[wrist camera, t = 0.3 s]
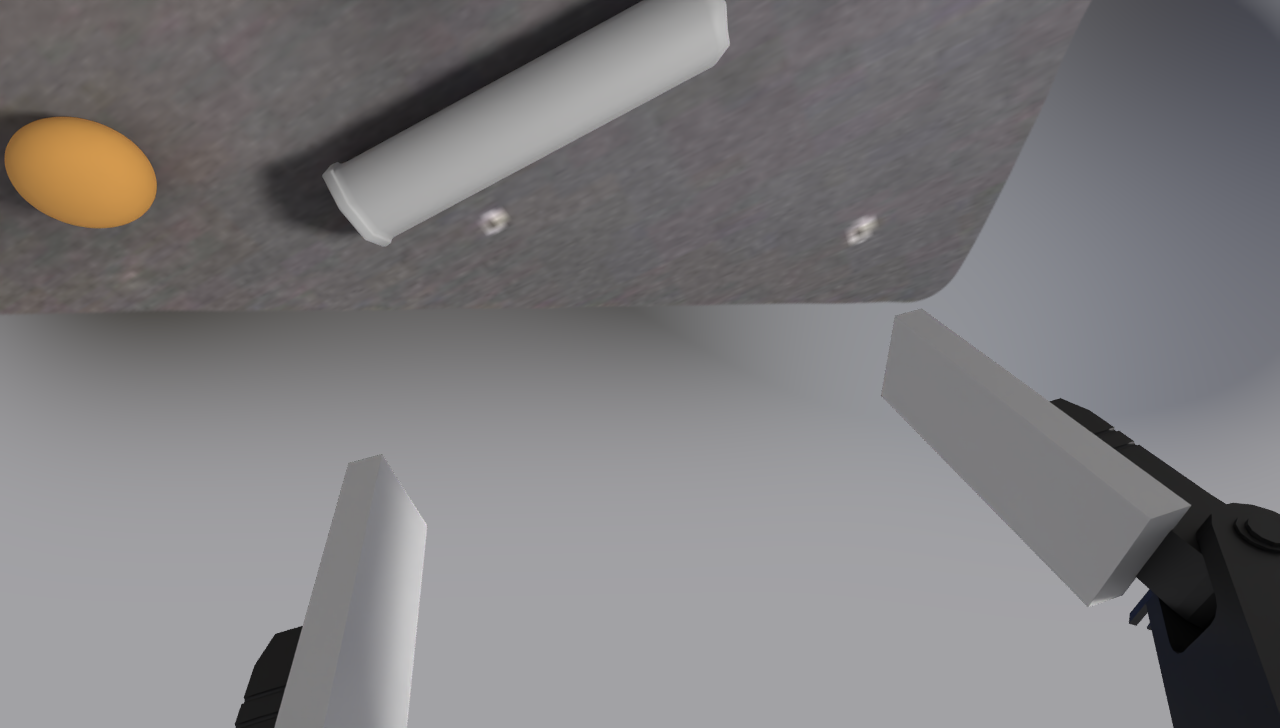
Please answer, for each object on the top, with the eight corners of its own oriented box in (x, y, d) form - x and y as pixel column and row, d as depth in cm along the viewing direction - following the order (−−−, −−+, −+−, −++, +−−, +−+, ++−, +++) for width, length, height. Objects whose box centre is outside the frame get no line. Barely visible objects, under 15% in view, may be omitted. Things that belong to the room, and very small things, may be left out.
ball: (22, 111, 28) (-62, 135, 24) (140, 102, 29) (80, 123, 25) (90, 213, 31) (27, 250, 27) (194, 202, 32) (149, 236, 28)
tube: (718, -61, 28) (307, 163, 29) (755, 44, 30) (367, 252, 31) (696, -23, 33) (347, 167, 34) (729, 65, 35) (397, 243, 36)
